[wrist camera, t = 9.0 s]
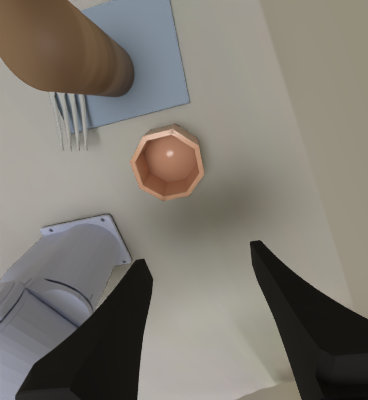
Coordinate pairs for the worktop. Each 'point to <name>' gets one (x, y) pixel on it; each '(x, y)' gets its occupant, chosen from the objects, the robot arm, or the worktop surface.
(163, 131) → the cup
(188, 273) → the worktop surface
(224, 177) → the worktop surface
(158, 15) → the mat
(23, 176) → the worktop surface
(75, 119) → the fork
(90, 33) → the peg
